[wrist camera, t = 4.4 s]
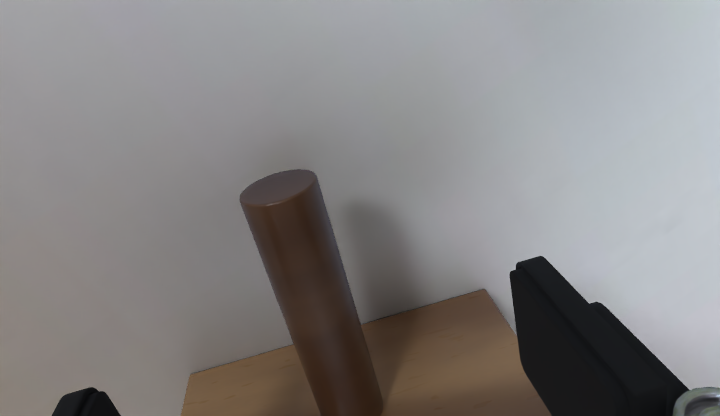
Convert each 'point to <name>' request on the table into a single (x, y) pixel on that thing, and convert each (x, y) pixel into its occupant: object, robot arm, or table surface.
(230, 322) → the table surface
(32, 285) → the table surface
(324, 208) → the scrubbing brush
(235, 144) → the table surface
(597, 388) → the robot arm
